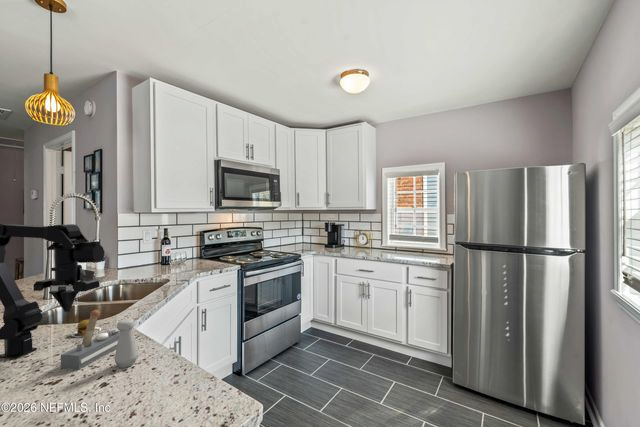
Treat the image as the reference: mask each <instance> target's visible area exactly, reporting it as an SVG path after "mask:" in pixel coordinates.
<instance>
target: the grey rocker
mask: <svg viewBox="0 0 640 427" xmlns="http://www.w3.org/2000/svg"><path fill="white" fill-rule="evenodd" d="M109 331H111V332H112V333H114V332H117V331H120V330H118V329H117V327H115V328H111V329H109V330H107V331H106V333H108V332H109Z"/></svg>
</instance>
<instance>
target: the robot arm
mask: <svg viewBox="0 0 640 427" xmlns="http://www.w3.org/2000/svg"><path fill="white" fill-rule="evenodd" d="M14 237H15V238H29V239H30V238H33V239H34V238H35V239H43V240H45V241H47V242H52V243H51V245H49V246H47V248H46V250H48V251H54V267H51V268H50V270H51V272H54V278H47V279H41V280H37V281H35V282H34V284H33V285H32V286H33V291H34V292H35V291H36V292H42V291H43V290H44V289H47V288H51V290H50V291H49V292H48V293H49V294H50V295H51V296H52V297H54V299H55V301H57V303H58V304H59V305H60V307H61V308H62V309H63V311H64V312H71V309H72V307H73V304H74V301H75V300H76V297H77V295H78V294H79V293H81V292H88V291H91V290H93V289H94V290H95V289H97V288H100V280H98V278H94V275H95V272H96V271H94V270H89V269H83V266H82V264H83V263H84V264H85V263H88V264H89V263H101V262H102V261H103V260H104V257H105V250H104V247H103V246H102V245H101V241H99V240H98V241H97V240H95V241H89V240H88V239H87V237H86V236H85V235H84V234H83V233H82V231H81V229H80V227H79V226H78V225H77V224H73V223H71V224H55V225H54V224H53V225H45V226H44V225H28V224H26V225H25V224H13V223H0V302H1V304H2V306H3V308H4V311H3V315H2V320H3V325H2V326H1V328H0V341H3V340H4V341H3V342H4V343H3V344H4V346H3V347H4V353H2V354H0V358H3V359H4V358H5V359H17V358H20V357H22V356H25V355H28V354H29V353H32V352H34V351H36V350H38V348H37V347H33V337H32V336H33V334H32V331H34V330H37V329H38V326H39V324H40V322H41V321H42V318H43V313H42V312H43V310H42V308H40V306H39V304H38V302H37V301H32V302H31V301H28V300H26V299H25V297H24V295H23V293H22V291H21V290H20V287H19V286H18V284H17V282H16V280H15V279H14V277H13V275H12V273H11V272H10V269H9V268H8V266H7V264H6V262H5V258H6V254H7V252H6V249H5V248H6V247H7V246H8V245H9V244H10V243H11V241H12V238H14ZM79 263H81V264H79Z"/></svg>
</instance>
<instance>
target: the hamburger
mask: <svg viewBox="0 0 640 427" xmlns="http://www.w3.org/2000/svg"><path fill="white" fill-rule="evenodd" d="M89 319H90V318H89ZM89 319H84V320H80V321H79V322H78V323H77V327H76V331H74V332H73V333H72V334H71V336H72V337H74V338H84V335H85V332H86V329H87V325H88V322H89ZM97 329H98V331H96V332H95V330H97ZM101 331H102V328H101V327H100V326H99V327H97V326H95V328H94V331H93V335H96V334H98V333H100V332H101ZM76 334H77V335H79V336H76Z"/></svg>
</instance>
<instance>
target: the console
mask: <svg viewBox="0 0 640 427" xmlns="http://www.w3.org/2000/svg"><path fill="white" fill-rule="evenodd" d="M108 331H109V330H108ZM119 333H120V330H119V331H117V332H114V333H112V332H111V331H109V332H108V338H107V339H104V340H96V337H95V338H93V339H92V338H91V341H90V344H89V345H87V346H85V347H84V344H82V343H78V344H76V347H74V348H72V349H70V350H67V351H66V352H64V353H62V354H60V369H61V370H76V371H77V370H81V369H83V368H85V367H87V366H88V365H90V364H92V363H93V362H95V361H98V360H99V359H101V358H103V357H105V356H106V355H108V354H110V353H112V352H113V351H116V348H117V343H118V338H119Z"/></svg>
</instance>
